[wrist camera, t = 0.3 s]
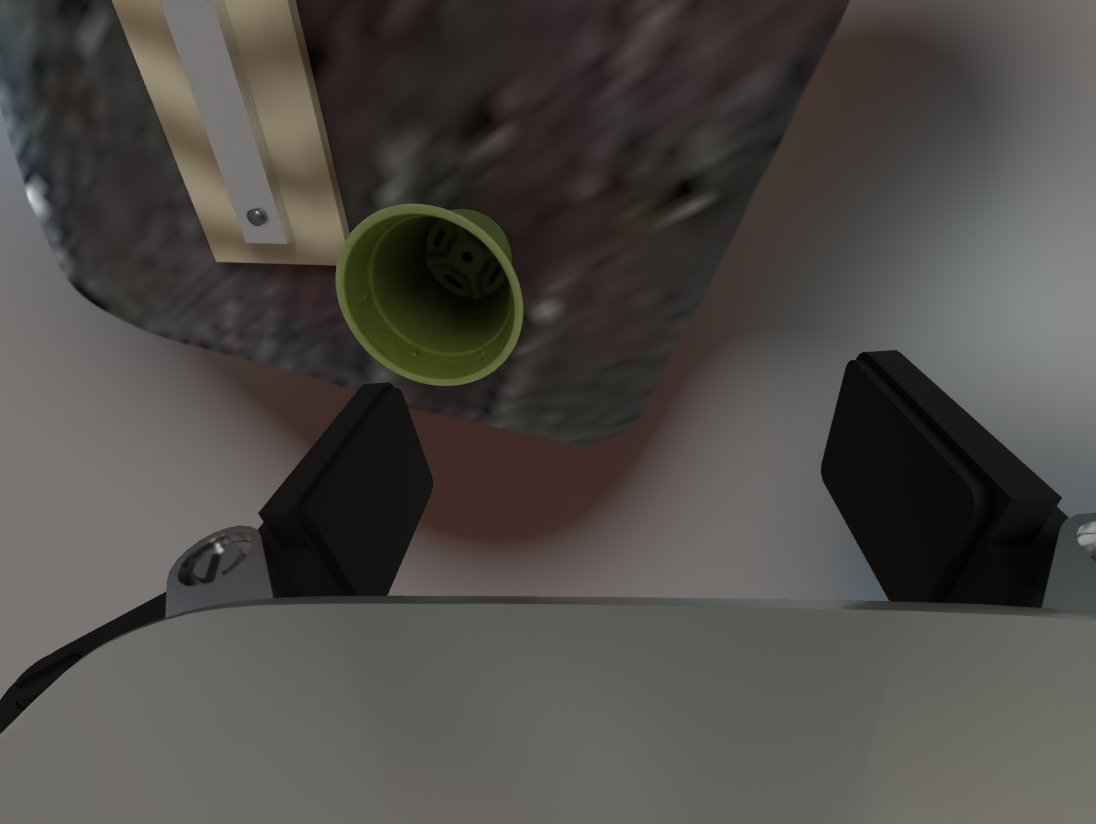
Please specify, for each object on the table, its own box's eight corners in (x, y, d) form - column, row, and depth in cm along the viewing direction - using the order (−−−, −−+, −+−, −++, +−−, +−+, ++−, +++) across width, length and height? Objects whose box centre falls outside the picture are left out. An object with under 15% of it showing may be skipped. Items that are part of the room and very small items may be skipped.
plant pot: (535, 329, 42) (515, 398, 33) (404, 310, 42) (348, 373, 33) (550, 185, 35) (530, 220, 26) (394, 163, 35) (320, 190, 26)
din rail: (73, -289, 24) (43, -310, 23) (137, -293, 24) (110, -315, 22) (254, 238, 39) (242, 244, 37) (295, 239, 38) (284, 245, 37)
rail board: (-7, -336, 24) (-29, -350, 23) (213, -354, 23) (199, -370, 22) (223, 258, 41) (216, 261, 40) (356, 262, 40) (351, 265, 39)
